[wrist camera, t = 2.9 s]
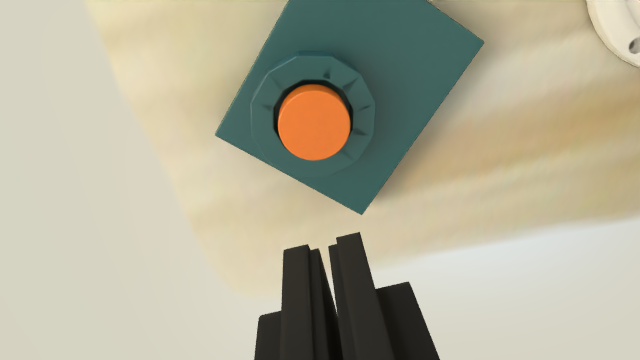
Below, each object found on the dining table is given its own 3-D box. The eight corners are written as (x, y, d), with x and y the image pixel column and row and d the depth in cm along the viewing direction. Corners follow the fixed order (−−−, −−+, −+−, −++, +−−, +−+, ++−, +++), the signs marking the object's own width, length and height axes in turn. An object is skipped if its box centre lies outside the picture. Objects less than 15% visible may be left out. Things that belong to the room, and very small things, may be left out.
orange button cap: (301, 70, 24) (301, 76, 22) (360, 106, 25) (364, 114, 23) (266, 129, 25) (264, 139, 23) (324, 161, 26) (326, 173, 24)
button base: (324, -65, 25) (329, -74, 21) (471, 37, 27) (499, 45, 24) (219, 124, 28) (208, 145, 25) (357, 200, 31) (366, 229, 27)
